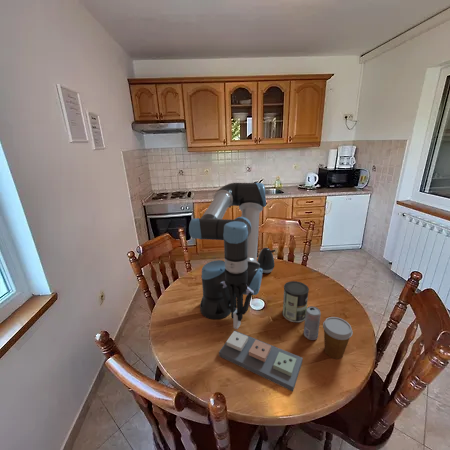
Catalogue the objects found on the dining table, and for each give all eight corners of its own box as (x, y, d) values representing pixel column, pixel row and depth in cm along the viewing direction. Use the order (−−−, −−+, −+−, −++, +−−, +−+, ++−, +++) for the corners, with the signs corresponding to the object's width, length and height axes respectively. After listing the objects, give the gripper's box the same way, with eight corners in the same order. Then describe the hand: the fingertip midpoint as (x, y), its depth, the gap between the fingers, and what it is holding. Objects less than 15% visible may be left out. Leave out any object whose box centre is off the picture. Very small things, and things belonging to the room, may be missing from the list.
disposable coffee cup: (324, 337, 94) (328, 312, 90) (351, 349, 88) (356, 323, 84) (316, 353, 87) (319, 327, 83) (344, 367, 81) (349, 340, 77)
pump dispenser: (274, 276, 137) (275, 252, 132) (256, 274, 139) (256, 251, 134) (274, 267, 146) (275, 245, 141) (257, 266, 149) (258, 243, 144)
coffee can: (304, 308, 110) (307, 282, 106) (307, 324, 101) (310, 295, 96) (282, 305, 112) (283, 280, 108) (282, 321, 103) (284, 293, 98)
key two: (248, 358, 84) (248, 351, 83) (255, 346, 89) (255, 339, 87) (264, 365, 81) (265, 358, 80) (270, 353, 86) (271, 345, 85)
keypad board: (219, 356, 87) (218, 352, 86) (234, 334, 97) (234, 330, 96) (292, 391, 74) (293, 387, 73) (302, 362, 84) (302, 357, 83)
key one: (226, 348, 88) (226, 341, 87) (234, 337, 93) (234, 330, 92) (241, 355, 85) (241, 347, 84) (248, 343, 90) (248, 336, 89)
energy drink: (314, 330, 97) (317, 305, 93) (320, 340, 92) (323, 314, 88) (301, 330, 97) (304, 306, 93) (306, 340, 92) (309, 315, 88)
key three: (273, 372, 80) (273, 364, 79) (278, 358, 85) (279, 351, 83) (290, 380, 77) (291, 372, 76) (295, 366, 82) (296, 358, 80)
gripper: (213, 268, 78) (216, 326, 86) (249, 278, 72) (249, 340, 80) (224, 259, 84) (226, 314, 92) (259, 267, 78) (257, 325, 86)
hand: (237, 326), depth 86 cm, fingers closed
